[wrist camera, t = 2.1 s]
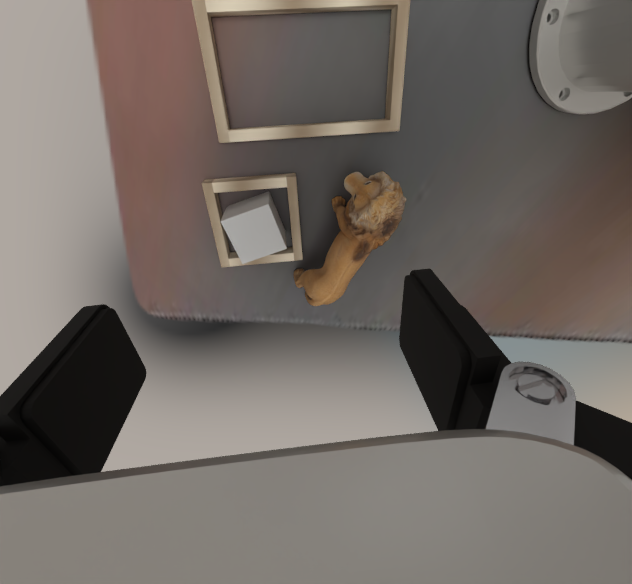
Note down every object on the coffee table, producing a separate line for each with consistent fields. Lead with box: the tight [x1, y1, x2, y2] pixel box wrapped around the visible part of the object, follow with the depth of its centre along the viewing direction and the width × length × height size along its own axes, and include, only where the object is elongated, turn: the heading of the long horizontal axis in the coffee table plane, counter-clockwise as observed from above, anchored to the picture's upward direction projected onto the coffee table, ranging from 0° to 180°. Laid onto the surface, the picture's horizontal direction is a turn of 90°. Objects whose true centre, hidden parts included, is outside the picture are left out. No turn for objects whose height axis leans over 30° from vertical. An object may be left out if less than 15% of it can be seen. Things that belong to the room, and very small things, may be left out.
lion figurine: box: [294, 171, 406, 306], centre depth 27 cm, size 15×5×9 cm, turn 161°
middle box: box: [192, 0, 410, 143], centre depth 23 cm, size 14×8×1 cm, turn 93°
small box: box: [202, 173, 303, 267], centre depth 28 cm, size 8×8×1 cm
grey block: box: [221, 191, 287, 264], centre depth 27 cm, size 4×4×4 cm
